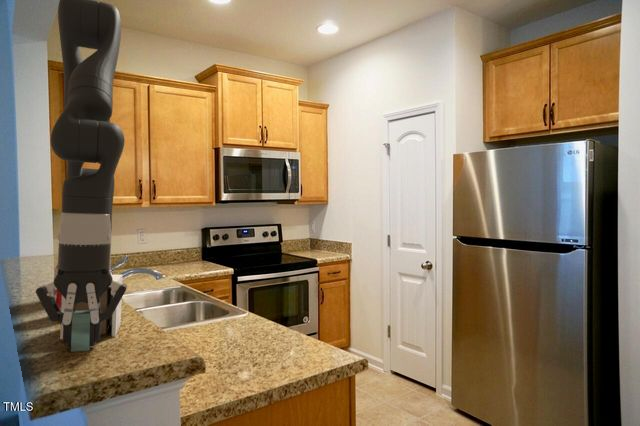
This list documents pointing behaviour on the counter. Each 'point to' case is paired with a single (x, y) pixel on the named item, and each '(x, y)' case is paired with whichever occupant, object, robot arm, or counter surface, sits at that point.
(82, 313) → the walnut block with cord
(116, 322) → the cream white box
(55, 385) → the counter surface
